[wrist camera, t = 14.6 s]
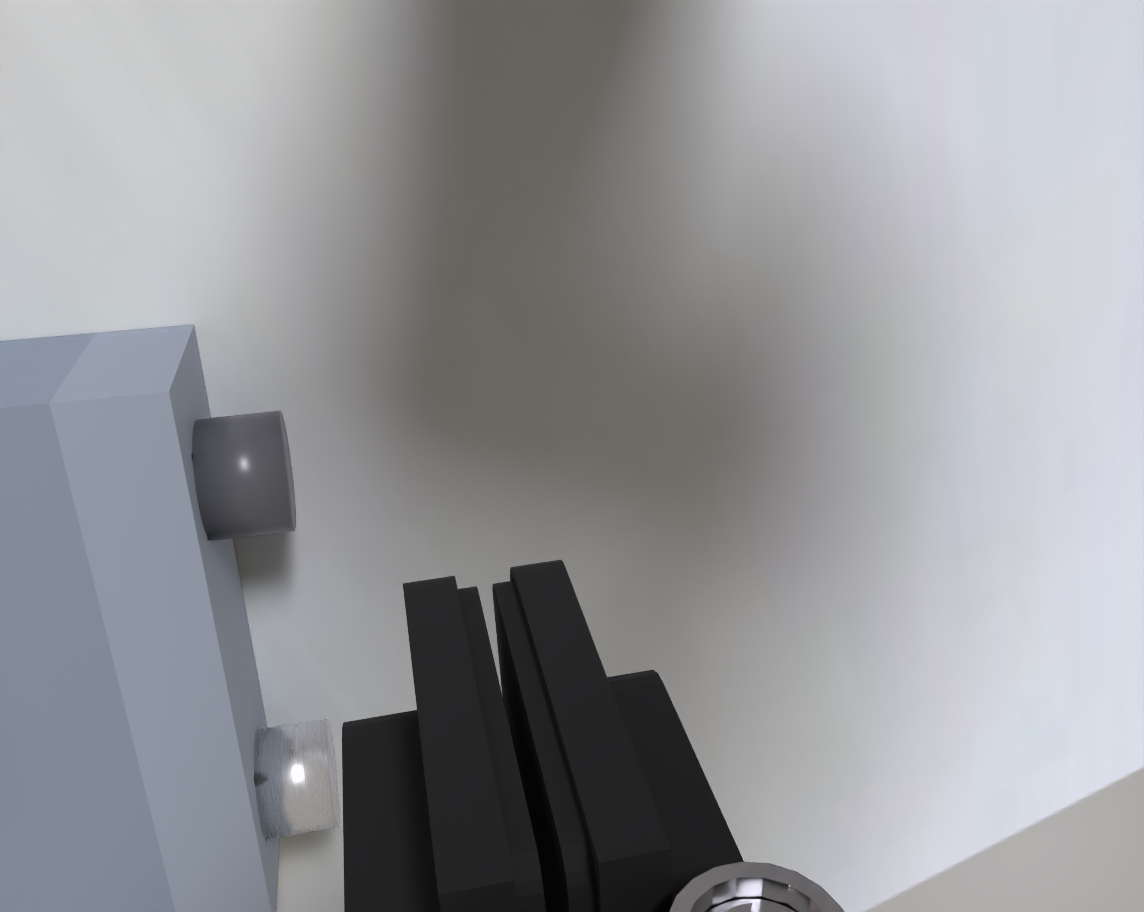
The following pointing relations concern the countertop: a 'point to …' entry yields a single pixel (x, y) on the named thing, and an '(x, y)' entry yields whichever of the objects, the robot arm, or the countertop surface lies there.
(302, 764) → the knob aluminium
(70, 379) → the control box
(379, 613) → the countertop surface
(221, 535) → the knob black
